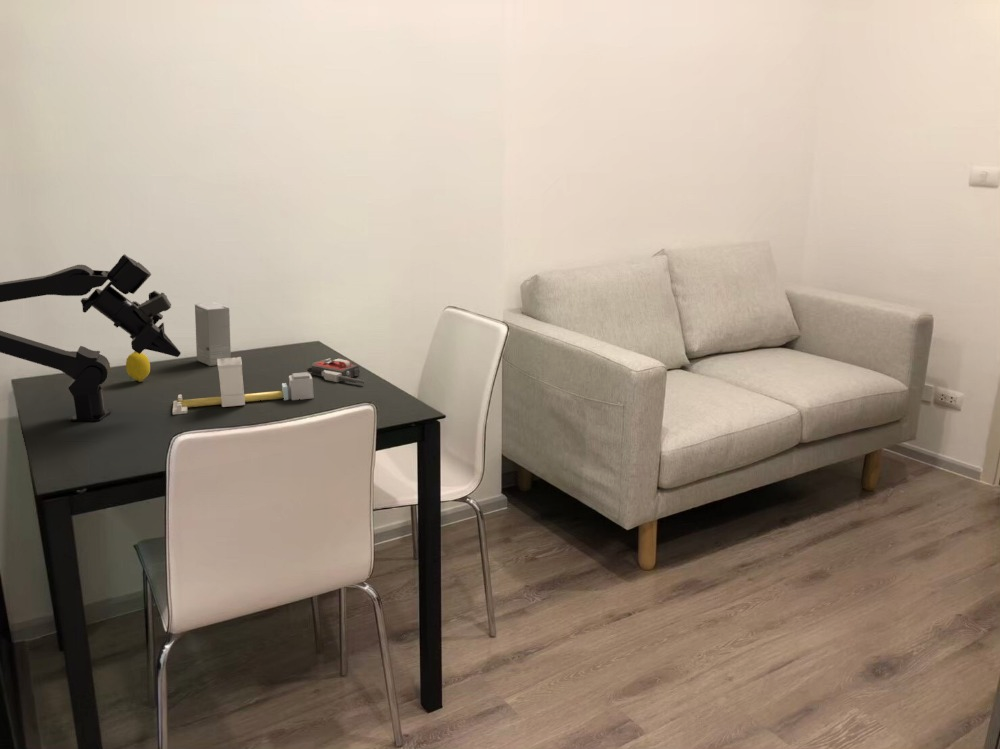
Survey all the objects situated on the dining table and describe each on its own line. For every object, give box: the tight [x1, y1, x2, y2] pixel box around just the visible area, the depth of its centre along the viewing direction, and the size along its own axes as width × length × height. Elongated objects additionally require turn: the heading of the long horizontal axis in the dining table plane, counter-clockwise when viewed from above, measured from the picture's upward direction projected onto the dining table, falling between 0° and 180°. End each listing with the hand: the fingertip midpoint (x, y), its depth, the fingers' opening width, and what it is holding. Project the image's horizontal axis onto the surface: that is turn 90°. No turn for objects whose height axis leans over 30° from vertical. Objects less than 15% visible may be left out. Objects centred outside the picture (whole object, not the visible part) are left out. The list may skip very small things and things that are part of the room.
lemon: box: [125, 351, 151, 383], centre depth 208 cm, size 6×6×8 cm
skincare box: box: [194, 301, 232, 367], centre depth 226 cm, size 8×7×16 cm
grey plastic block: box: [281, 371, 315, 401], centre depth 196 cm, size 7×4×5 cm, turn 109°
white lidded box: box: [217, 356, 246, 408], centre depth 191 cm, size 5×7×10 cm
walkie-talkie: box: [306, 357, 365, 384], centre depth 213 cm, size 9×4×20 cm
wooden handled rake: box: [172, 390, 284, 415], centre depth 192 cm, size 26×8×2 cm, turn 109°
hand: (179, 355), depth 186 cm, fingers closed
